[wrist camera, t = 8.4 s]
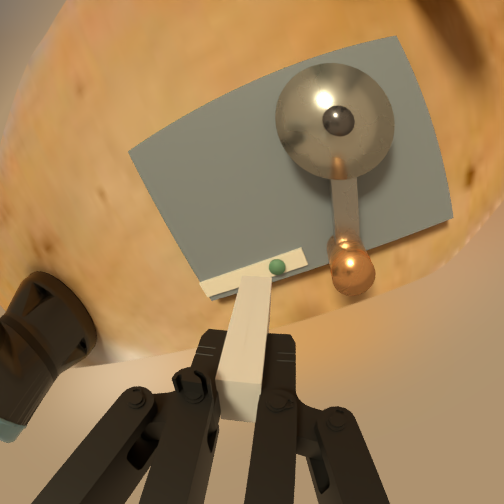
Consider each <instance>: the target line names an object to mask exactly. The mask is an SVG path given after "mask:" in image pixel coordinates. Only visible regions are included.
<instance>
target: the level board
mask: <svg viewBox="0 0 504 504" xmlns="http://www.w3.org/2000/svg"><path fill="white" fill-rule="evenodd" d="M324 63H338V64H345V65H348V66H352V67H354V68H357V69H359V70H361V71H362V72H364V73H366V74H367V75H369V76H370V77H371V78H373V79H374V80H375V81H376V82H377V83H378V84H379V86H380V87H381V88H382V89H383V91H384V92H385V94H386V95H387V97H388V99H389V101H390V103H391V107H392V110H393V114H394V122H395V129H394V136H393V141H392V144H391V146H390V149H389V151H388V153H387V154H386V156H385V157H384V159H383V160H382V161H381V162H380V163H379V164H378V165H377V166H376V167H375V168H373V169H372V170H371V171H369V172H367V173H366V174H363V175H361V176H359V177H357V191H358V208H359V235H360V238H361V240H362V242H363V245H364V247H365V249H366V250H369V249H372V248H375V247H378V246H380V245H383V244H386V243H389V242H391V241H394V240H397V239H399V238H402V237H405V236H408V235H410V234H413V233H416V232H418V231H421V230H423V229H426V228H429V227H431V226H434V225H436V224H439V223H442V222H444V221H447V220H449V219H452V218H453V211H452V205H451V199H450V193H449V188H448V183H447V178H446V173H445V169H444V164H443V160H442V156H441V152H440V148H439V145H438V141H437V137H436V134H435V131H434V127H433V124H432V121H431V118H430V115H429V112H428V109H427V106H426V103H425V100H424V98H423V95H422V92H421V90H420V87H419V85H418V82H417V80H416V77H415V75H414V72H413V70H412V68H411V65H410V63H409V61H408V59H407V57H406V55H405V52H404V50H403V48H402V46H401V44H400V42H399V40H398V38H397V36H392V37H387V38H382V39H378V40H373V41H369V42H365V43H361V44H357V45H353V46H350V47H346V48H343V49H339V50H336V51H332V52H329V53H326V54H323V55H320V56H317V57H314V58H311V59H308V60H305V61H302V62H299V63H297V64H294V65H291V66H289V67H286V68H284V69H281V70H278V71H276V72H273V73H271V74H269V75H266V76H264V77H262V78H259V79H257V80H255V81H252V82H250V83H248V84H246V85H244V86H241V87H239V88H237V89H235V90H233V91H231V92H229V93H227V94H225V95H223V96H221V97H219V98H217V99H215V100H213V101H211V102H209V103H207V104H205V105H203V106H201V107H200V108H198V109H196V110H194V111H192V112H190V113H189V114H187V115H185V116H183V117H182V118H180V119H178V120H177V121H175V122H173V123H171V124H170V125H168V126H167V127H165V128H163V129H162V130H160V131H158V132H157V133H155V134H154V135H152V136H151V137H149V138H147V139H146V140H144V141H143V142H141V143H140V144H138V145H137V146H135V147H134V148H132V149H131V150H129V151H128V153H129V155H130V157H131V159H132V161H133V163H134V165H135V167H136V169H137V171H138V173H139V175H140V177H141V178H142V180H143V182H144V184H145V186H146V188H147V190H148V192H149V194H150V195H151V197H152V199H153V201H154V203H155V205H156V207H157V208H158V210H159V212H160V214H161V216H162V217H163V219H164V221H165V223H166V225H167V226H168V228H169V230H170V232H171V233H172V235H173V237H174V239H175V240H176V242H177V244H178V246H179V247H180V249H181V251H182V253H183V254H184V256H185V258H186V259H187V261H188V263H189V264H190V266H191V268H192V269H193V271H194V273H195V274H196V276H197V278H198V279H199V281H200V283H199V284H200V286H201V288H202V289H203V291H204V292H205V294H206V296H207V297H210V299H211V300H212V301H213V300H217V299H220V298H223V297H226V296H230V295H233V294H236V293H238V289H239V285H240V281H241V278H242V276H259V277H272V282H275V281H278V280H281V279H284V278H287V277H290V276H293V275H296V274H299V273H302V272H305V271H308V270H311V269H314V268H317V267H320V266H323V265H326V264H329V259H328V254H327V242H328V240H329V239H330V237H331V236H332V235H333V223H332V210H331V199H330V188H329V179H326V178H322V177H319V176H316V175H314V174H312V173H310V172H308V171H306V170H305V169H303V168H302V167H300V166H299V165H298V164H297V163H295V162H294V161H293V160H292V158H291V157H290V156H289V155H288V154H287V152H286V151H285V149H284V148H283V146H282V144H281V142H280V139H279V137H278V133H277V129H276V122H275V111H276V106H277V102H278V99H279V96H280V94H281V92H282V90H283V88H284V87H285V86H286V84H287V83H288V82H289V81H290V80H291V79H292V78H293V77H294V76H295V75H296V74H297V73H299V72H301V71H302V70H304V69H306V68H308V67H311V66H314V65H318V64H324Z"/></svg>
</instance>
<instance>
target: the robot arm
mask: <svg viewBox="0 0 504 504" xmlns="http://www.w3.org/2000/svg"><path fill="white" fill-rule="evenodd" d="M271 286H272V277H259V276H242V278H241V281H240V285H239V289H238V293H237V297H236V300H235V304H234V308H233V312H232V316H231V320H230V324H229V327H228V331H224V330H214V329H208V330H207V331H206V332H205V333H204V334H203V335H202V336H201V339H200V342H199V345H198V348H197V350H196V354H195V356H194V359H193V362H192V365H191V367H187V368H184V369H181V370H179V371H178V372H176V373H175V374H174V376H173V377H172V381H173V384H174V387H175V391H173V392H169V393H159V394H152V393H151V391H149V390H148V389H147V388H144V387H140V386H139V387H131V388H129V389H127V390H126V391H125V392H123V393H122V394H121V396H120V397H119V398H118V399H117V400H116V402H115V403H114V404H113V405H112V406H111V408H110V409H109V410H108V411H107V413H105V415H104V416H103V417H102V418H101V419H100V421H99V422H98V423H97V424H96V425H95V427H94V428H93V429H92V430H91V431H90V433H89V434H88V435H87V437H86V438H85V439H84V440H83V441H82V442H81V444H80V445H79V446H78V447H77V448H76V450H75V451H74V452H73V453H72V454H71V456H70V457H69V458H68V459H67V461H66V462H65V463H64V464H63V465H62V467H61V468H60V469H59V470H58V471H57V473H56V474H55V475H54V476H53V478H52V479H51V480H50V481H49V483H48V484H47V485H46V486H45V487H44V489H43V490H42V491H41V492H40V494H39V495H38V496H37V497H36V499H35V500H34V501H33V502H32V503H31V504H125V502H126V501H127V499H128V498H129V496H130V495H131V494H132V492H133V491H134V489H135V488H136V486H137V485H138V483H139V482H140V480H141V479H142V477H143V476H144V475H145V473H146V472H147V470H148V469H149V467H150V466H151V468H150V470H149V473H148V476H147V480H146V483H145V486H144V489H143V492H142V495H141V498H140V502H139V504H204V500H205V495H206V490H207V485H208V481H209V476H210V472H211V467H212V462H213V457H214V452H215V448H216V443H217V438H218V433H219V425H218V422H219V418H220V415H221V419H227V420H235V421H244V422H255V430H254V437H253V445H252V452H251V459H250V467H249V473H248V480H247V487H246V494H245V501H244V504H293V503H294V486H295V464H296V454H299V455H302V456H306V460H307V463H308V467H309V471H310V474H311V477H312V481H313V485H314V488H315V492H316V495H317V499H318V502H319V504H390V503H389V500H388V498H387V495H386V493H385V490H384V488H383V485H382V483H381V480H380V478H379V475H378V473H377V470H376V467H375V465H374V462H373V460H372V458H371V455H370V453H369V450H368V448H367V446H366V443H365V441H364V438H363V436H362V433H361V431H360V429H359V426H358V424H357V422H356V419H355V417H354V416H353V414H352V413H351V412H350V411H349V410H347V409H346V408H342V407H339V406H337V407H329V408H327V409H325V410H323V411H322V410H318V409H315V408H312V407H309V406H307V405H305V404H304V403H302V402H301V401H300V400H299V399H298V397H297V395H296V363H295V362H296V355H295V353H296V351H295V350H296V348H295V346H296V345H295V341H294V340H293V338H292V336H291V335H289V334H271V333H269V322H270V305H271ZM95 344H96V331H95V328H94V325H93V322H92V320H91V318H90V316H89V314H88V312H87V311H86V309H85V308H84V306H83V305H82V303H81V302H80V301H79V299H78V298H77V297H76V296H75V295H74V294H73V292H72V291H71V290H70V289H69V288H68V287H67V286H65V285H64V284H63V283H62V282H61V281H59V280H58V279H56V278H55V277H53V276H52V275H50V274H47V273H45V272H34V273H32V274H30V275H29V276H28V277H27V278H26V279H24V280H23V281H22V283H21V284H20V286H19V288H18V289H17V291H16V293H15V295H14V297H13V299H12V301H11V303H10V305H9V307H8V309H7V311H6V312H5V314H4V315H3V316H2V317H1V318H0V440H1V441H3V442H6V443H10V442H13V441H15V440H16V438H17V437H18V436H19V434H20V433H21V432H22V430H23V429H24V428H26V426H27V424H28V422H29V420H30V419H31V417H32V415H33V413H34V412H35V410H36V409H37V407H38V406H39V404H40V403H41V401H42V400H43V398H44V397H45V395H46V393H47V392H48V390H49V389H50V387H51V386H52V384H53V383H54V381H55V380H56V378H57V377H58V376H59V374H61V373H62V372H63V371H65V370H67V369H68V368H70V367H71V366H73V365H74V364H76V363H78V362H79V361H81V360H82V359H84V358H85V357H86V356H87V355H88V354H89V353H90V352H91V350H92V349H93V347H94V346H95Z"/></svg>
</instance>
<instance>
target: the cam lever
mask: <svg viewBox="0 0 504 504" xmlns="http://www.w3.org/2000/svg"><path fill="white" fill-rule="evenodd" d="M275 122H276V129H277V133H278V137H279V139H280V142H281V144H282V146H283V148H284V149H285V151H286V152H287V154H288V155H289V156H290V157H291V158H292V160H293V161H294V162H295V163H297V164H298V165H299V166H300V167H302V168H303V169H305V170H306V171H308V172H310V173H312V174H314V175H316V176H319V177H322V178H326V179H329V188H330V199H331V210H332V223H333V235H332V236H331V237H330V239H329V240H328V242H327V254H328V259H329V264H330V269H331V275H332V280H333V284H334V286H335V288H336V289H337V290H338V291H339V292H340V293H342V294H345V295H350V296H353V295H359V294H361V293H363V292H365V291H367V290H368V289H369V288H370V287H371V286H372V284H373V282H374V280H375V269H374V266H373V264H372V262H371V260H370V257H369V255H368V253H367V251H366V249H365V247H364V245H363V242H362V240H361V238H360V235H359V208H358V191H357V177H359V176H361V175H363V174H366V173H367V172H369V171H371V170H372V169H373V168H375V167H376V166H377V165H378V164H379V163H380V162H381V161H382V160H383V159H384V157H385V156H386V154H387V153H388V151H389V149H390V146H391V144H392V141H393V136H394V129H395V122H394V114H393V110H392V107H391V103H390V101H389V99H388V97H387V95H386V94H385V92H384V91H383V89H382V88H381V87H380V86H379V84H378V83H377V82H376V81H375V80H374V79H373V78H371V77H370V76H369V75H367V74H366V73H364V72H362V71H361V70H359V69H357V68H354V67H352V66H348V65H345V64H338V63H324V64H318V65H314V66H311V67H308V68H306V69H304V70H302V71H301V72H299V73H297V74H296V75H295V76H294V77H293V78H292V79H291V80H290V81H289V82H288V83H287V84H286V86H285V87H284V88H283V90H282V92H281V94H280V96H279V99H278V102H277V106H276V111H275Z"/></svg>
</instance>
